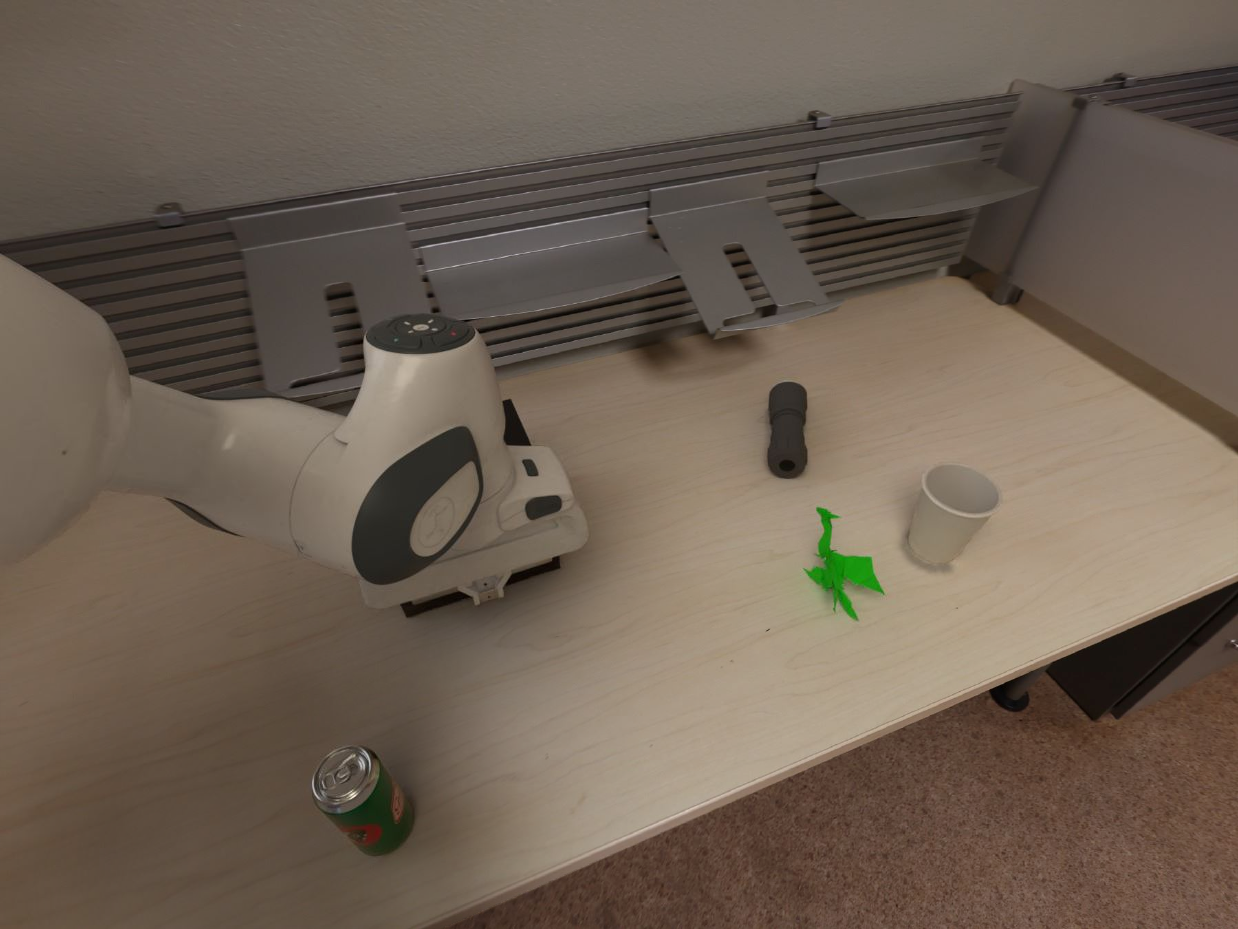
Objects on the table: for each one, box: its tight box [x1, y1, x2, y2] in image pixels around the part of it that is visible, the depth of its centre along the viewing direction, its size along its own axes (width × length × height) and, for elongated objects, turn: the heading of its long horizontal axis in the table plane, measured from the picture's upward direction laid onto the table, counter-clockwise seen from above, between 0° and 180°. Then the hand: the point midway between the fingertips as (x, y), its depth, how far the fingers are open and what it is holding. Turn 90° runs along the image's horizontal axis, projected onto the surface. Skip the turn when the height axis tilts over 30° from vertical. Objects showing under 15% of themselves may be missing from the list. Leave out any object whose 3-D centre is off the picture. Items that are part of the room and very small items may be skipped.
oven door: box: [399, 555, 562, 619], centre depth 68 cm, size 7×18×14 cm, turn 112°
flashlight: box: [766, 379, 809, 479], centre depth 90 cm, size 15×5×5 cm, turn 169°
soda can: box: [311, 744, 414, 857], centre depth 52 cm, size 5×5×12 cm
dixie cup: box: [907, 461, 1004, 564], centre depth 74 cm, size 8×8×10 cm
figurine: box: [802, 506, 886, 622], centre depth 71 cm, size 6×12×9 cm, turn 21°
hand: (488, 595), depth 62 cm, fingers closed, pressing on oven door
